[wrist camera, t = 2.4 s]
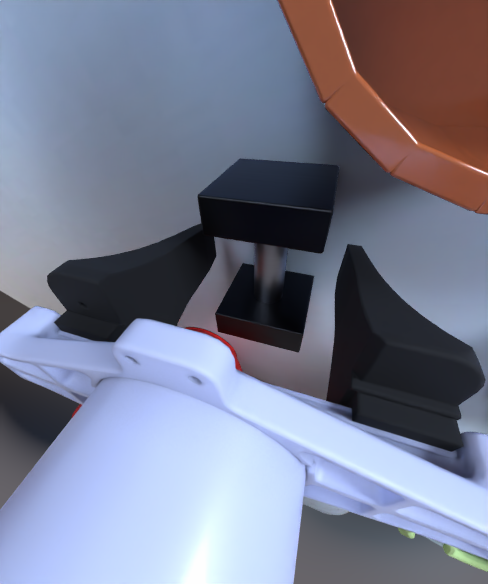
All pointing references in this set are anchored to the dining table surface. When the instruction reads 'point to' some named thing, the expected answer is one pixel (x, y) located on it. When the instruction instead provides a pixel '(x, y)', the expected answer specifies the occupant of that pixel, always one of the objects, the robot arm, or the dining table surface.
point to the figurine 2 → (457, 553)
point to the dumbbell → (269, 243)
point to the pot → (405, 85)
